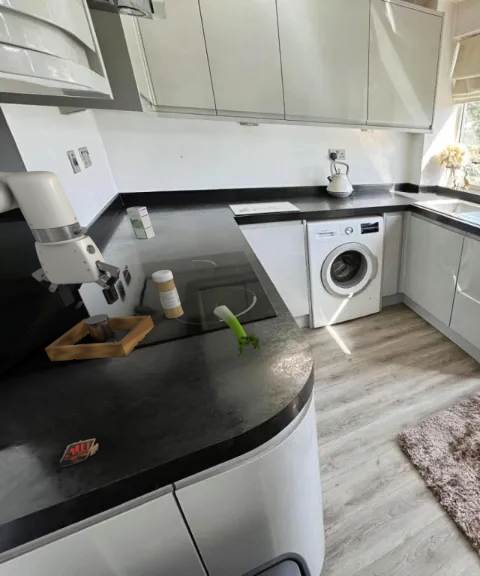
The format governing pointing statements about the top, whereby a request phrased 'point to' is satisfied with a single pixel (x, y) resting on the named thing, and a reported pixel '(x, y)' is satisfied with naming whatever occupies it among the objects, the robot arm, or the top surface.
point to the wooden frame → (69, 351)
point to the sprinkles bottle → (167, 293)
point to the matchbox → (78, 452)
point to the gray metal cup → (101, 329)
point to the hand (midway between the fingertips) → (91, 303)
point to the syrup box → (140, 222)
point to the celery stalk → (237, 329)
